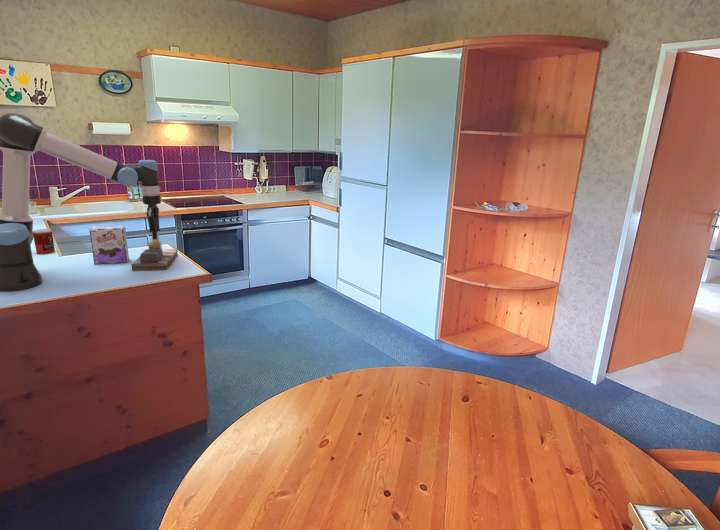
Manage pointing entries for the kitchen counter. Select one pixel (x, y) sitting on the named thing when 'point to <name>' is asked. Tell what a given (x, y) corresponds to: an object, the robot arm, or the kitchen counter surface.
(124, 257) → the candy box
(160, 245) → the bolt
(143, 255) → the door mockup
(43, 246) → the canned food
